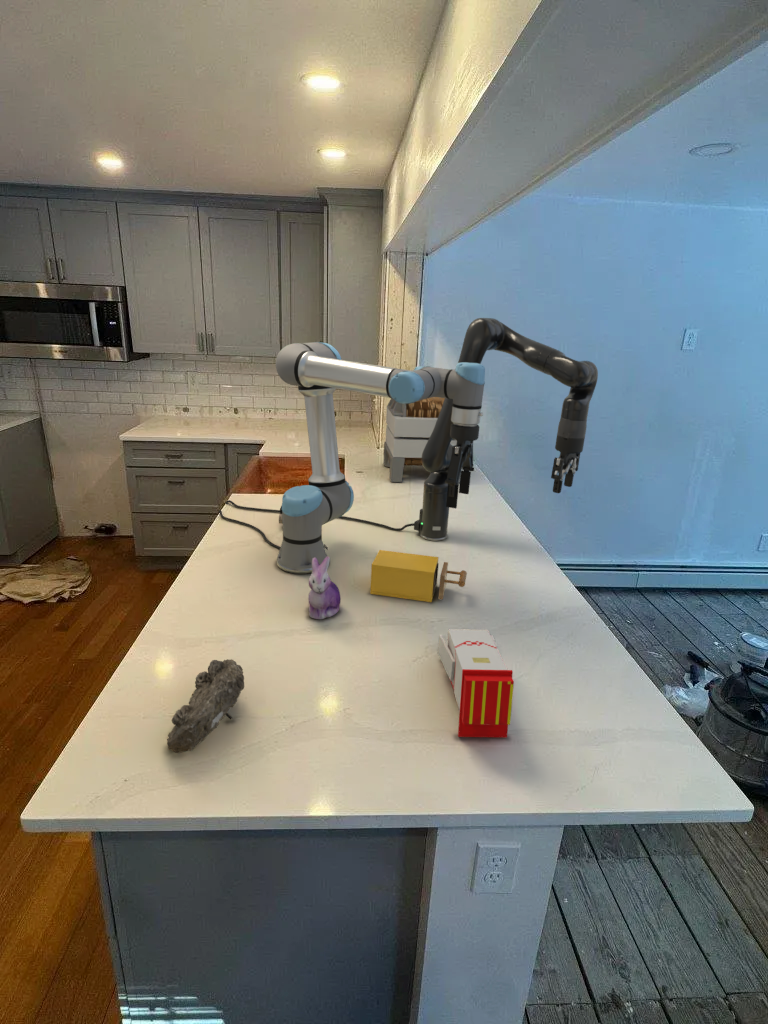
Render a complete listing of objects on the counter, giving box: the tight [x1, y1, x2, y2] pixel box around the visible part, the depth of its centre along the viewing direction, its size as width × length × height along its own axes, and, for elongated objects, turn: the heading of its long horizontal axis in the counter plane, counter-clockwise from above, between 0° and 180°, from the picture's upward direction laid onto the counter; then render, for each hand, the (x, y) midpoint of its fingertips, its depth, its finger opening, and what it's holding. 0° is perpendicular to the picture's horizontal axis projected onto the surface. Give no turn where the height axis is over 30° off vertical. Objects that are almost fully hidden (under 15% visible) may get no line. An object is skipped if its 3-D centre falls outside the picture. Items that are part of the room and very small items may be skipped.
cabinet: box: [369, 549, 439, 603], centre depth 159 cm, size 17×10×9 cm, turn 78°
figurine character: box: [278, 505, 283, 525], centre depth 204 cm, size 7×8×15 cm
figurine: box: [307, 555, 342, 620], centre depth 144 cm, size 9×10×15 cm
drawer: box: [432, 561, 468, 600], centre depth 158 cm, size 21×9×7 cm, turn 78°
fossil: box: [166, 658, 245, 754], centre depth 106 cm, size 22×10×15 cm
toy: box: [437, 628, 515, 738], centre depth 117 cm, size 12×13×30 cm
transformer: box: [383, 397, 461, 484], centre depth 268 cm, size 34×33×41 cm
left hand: (457, 500), depth 156 cm, fingers open, 13 cm apart
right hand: (562, 489), depth 164 cm, fingers open, 8 cm apart
